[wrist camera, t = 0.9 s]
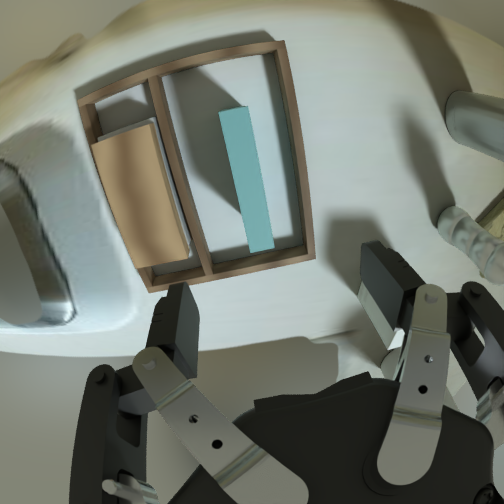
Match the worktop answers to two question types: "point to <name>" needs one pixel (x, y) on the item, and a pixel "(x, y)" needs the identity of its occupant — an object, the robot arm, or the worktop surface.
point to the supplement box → (379, 320)
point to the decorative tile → (494, 222)
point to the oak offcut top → (141, 196)
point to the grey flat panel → (166, 163)
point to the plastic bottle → (473, 243)
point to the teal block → (247, 176)
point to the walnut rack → (171, 145)
